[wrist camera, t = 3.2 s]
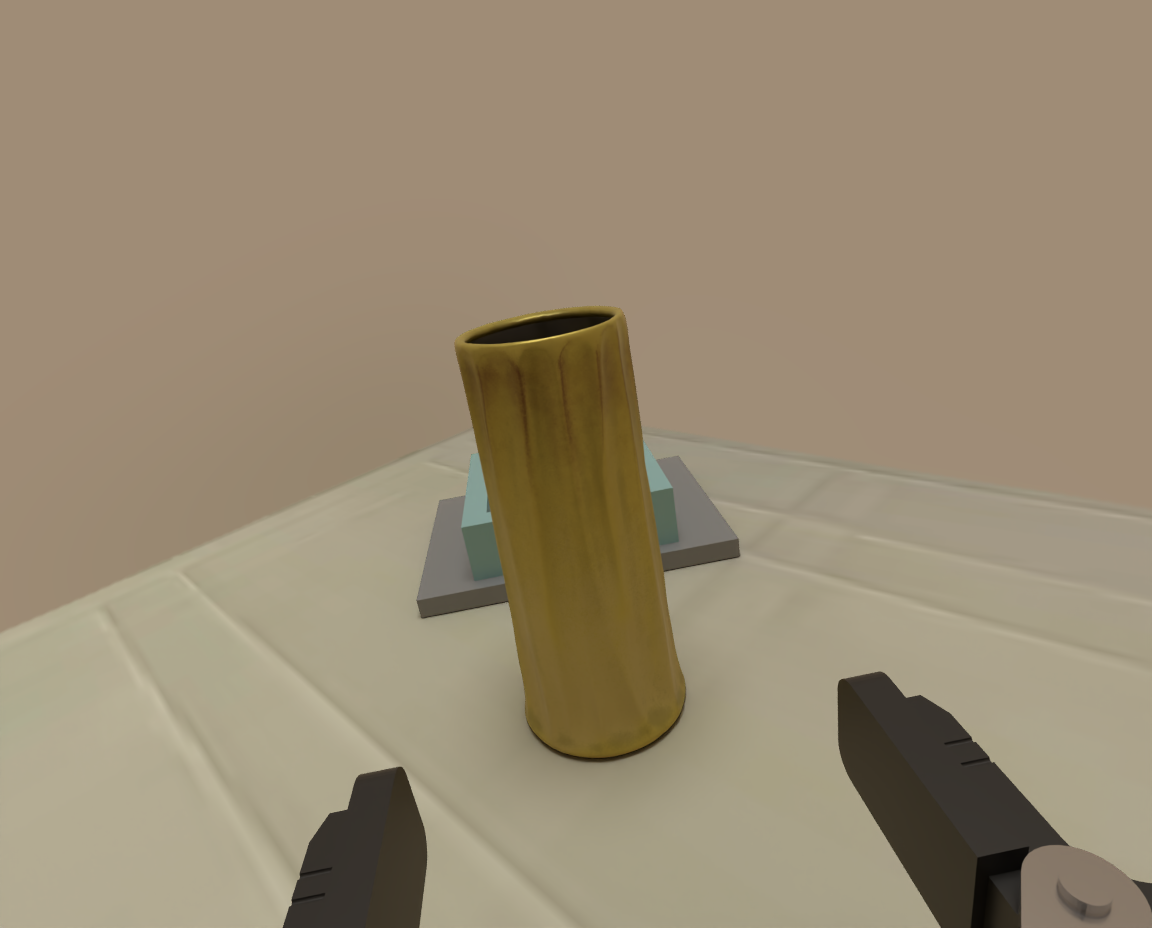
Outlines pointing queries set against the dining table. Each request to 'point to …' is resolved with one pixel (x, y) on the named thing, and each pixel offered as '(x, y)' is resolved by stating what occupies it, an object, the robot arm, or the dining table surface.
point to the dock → (471, 560)
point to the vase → (574, 526)
